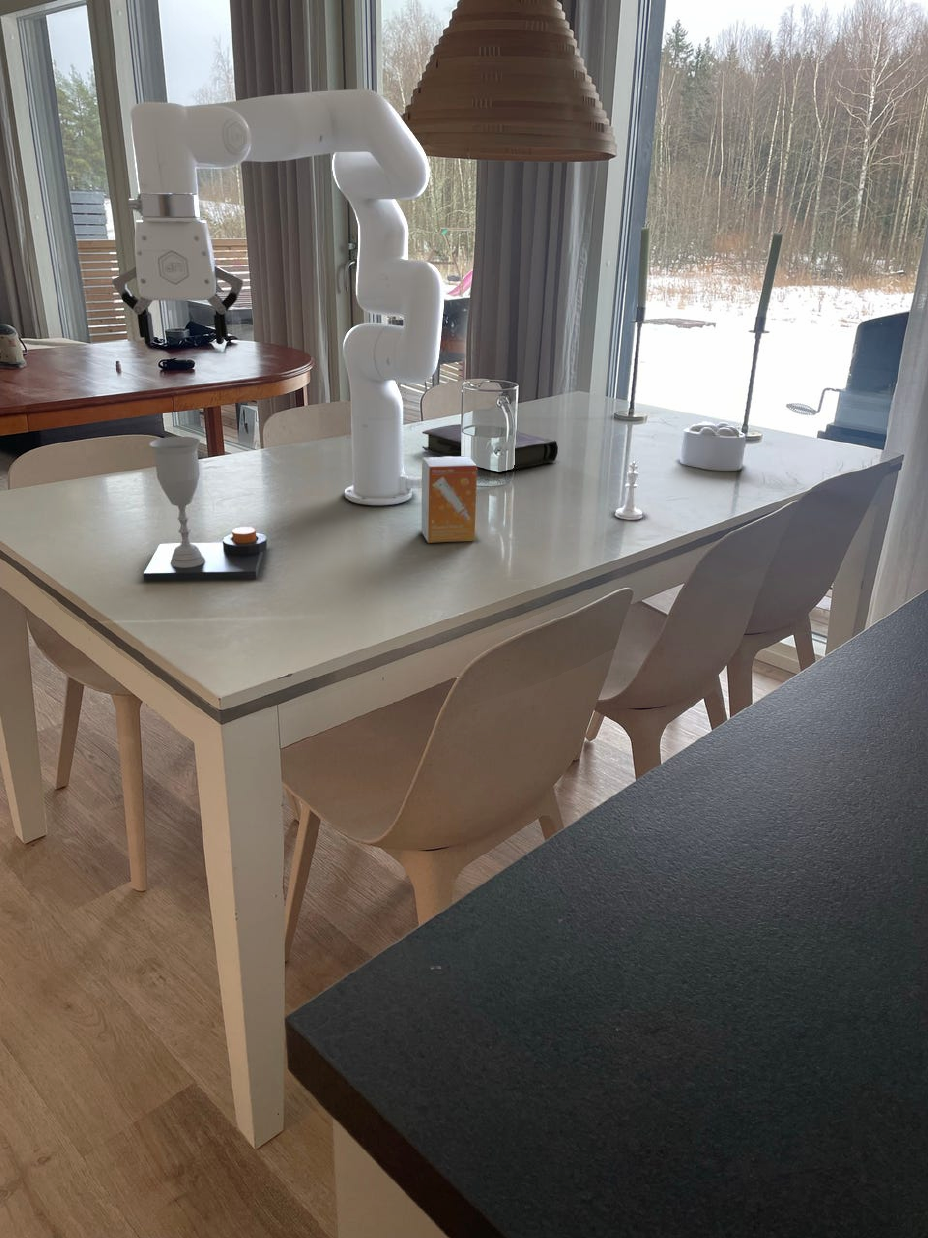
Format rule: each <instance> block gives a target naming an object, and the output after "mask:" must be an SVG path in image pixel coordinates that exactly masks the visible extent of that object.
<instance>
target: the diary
mask: <svg viewBox="0 0 928 1238" xmlns="http://www.w3.org/2000/svg"><path fill="white" fill-rule="evenodd" d="M461 424H462V423H459V424H450V425H444V426H438V427H434V428H430V429H425V430H424V431H422V434H423V435H427V446H424V445H422V449H423V450H424V451H425V452H426V451H427V452H429V453H432V454H435V455H438V456H439V457H461ZM515 431H516V445H515V465H514V468H513V470H512V471H515V470H516V471H517V470H519V469H520V470H521V469H524V468H528V467H534V466H538V465H543V464H548V463H552V462H555V461H556V459H557V457H558V451H559V447H558V443H557V440H553V439H549V438H544V437H539V436H536V435H535V436H534V435H532V434H531V435H530V434H527V433H524V432H521V431H517V430H515Z"/></svg>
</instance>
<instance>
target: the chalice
mask: <svg viewBox="0 0 928 1238" xmlns="http://www.w3.org/2000/svg"><path fill="white" fill-rule="evenodd" d="M200 443H201V439H200V438H197V437H192V436H168V437H167V436H166V437H163V438H162V437H161V438H157V439H155V440H151V441H150V442H149V446H150V447H151V449H152V451H153V452H154V454H153V455H154V461H155V470H156V478H157V480H158V483H159V485H160V487H161V489H162V490H163V492H164V494H165V496H166V497H167V498H168V501H169V502H170V503H171V504H172V505H173V506H176V507H177V509H178V511H179V512H178V517H177V520H178V522H179V524H180V527H179V530H178V531H177V532H178V533H180V536H181V544H180V545H179V546H177V547H176V548H175V550H174V553H173V555H172V560H171V562H170V564H171V565H172V566H175V567H183V568H186V567H194V566H198V565H201V564H203V563H204V562H205V559H204V558H203V556H202V553H201V552H200V551H199V548H198V547H197V546H196V545H193V544H191V543H192V542H190V539H189V534H190V532H191V529H190V528H189V526H188V520H189V516H188V514H187V512H186V509H187V508H186V507H187V506H188V505H190V504H191V503H192V501H193V498H194V496H195V494H196V490H197V489H198V484H199V479H200V475H201V473H200V463H199V453H198V448H199V445H200Z"/></svg>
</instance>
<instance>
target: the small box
mask: <svg viewBox="0 0 928 1238" xmlns="http://www.w3.org/2000/svg"><path fill="white" fill-rule="evenodd" d="M421 478H422V488H421V533H422V535H423V536H424V538H425V540H426V541H427V543H428V544H434V543H455V542H456V543H457V542H475V540H476V518H477V517H476V514H477V490H478V489H477V486H478V485H477V483H478V481H477V480H478V468H477V465H476V464H475V463H474V461H473V460H472V459H471V458H470V457H469V456H461V457H444V456H439V457H437V456H435V457H433V456H431V457H422V458H421Z"/></svg>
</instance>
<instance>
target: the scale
mask: <svg viewBox="0 0 928 1238" xmlns="http://www.w3.org/2000/svg"><path fill="white" fill-rule="evenodd" d="M256 538H257V541H255V542H250V543H235V542H233V536H232V533H230V534H228V535H226V536H224V537H223V539H222V542H191V544H193V545H196V546H197V547H198V548H199V551H200V552H201V553H202V556H203V558H204V559H205V562H204V563H203V564H201V565H198V566H194V567H186V568H183V567H175V566H172V565H171V564H170V562H171V560H172V555H173V553H174V550H175V548H176V547H177V546H179V545H180V544H181V543H182V542H181V543H180V542H179V543H178V542H177V543H176V542H175V543H159V545H158V547H157V548H156V550H155V552H154V553H153V555H152V557H151V559H150V560H149V562H148V564H147V566H146V568H145V569H144V571H143V573H142V574H143V581H144V583H157V582H158V583H159V582H160V583H161V582H203V581H250V580H251V581H252V580H253V581H254V580H257V579H258V575H259V572H260V567H261V563H262V559H263V556H264V552H266V551H267V548H268V540H267V536H266V535H265V534H263V533H260V532H256Z"/></svg>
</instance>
